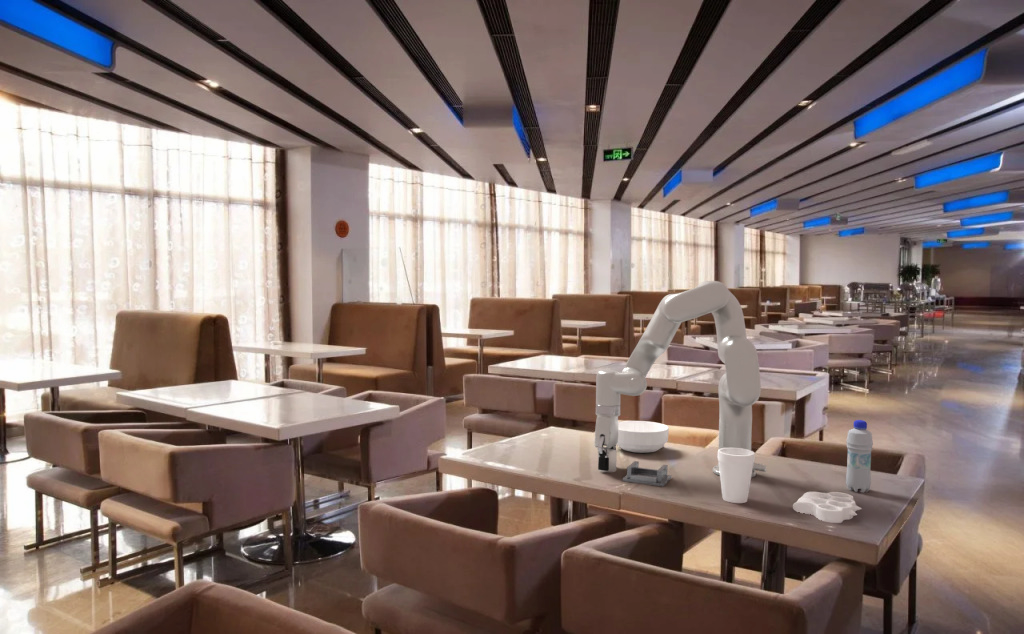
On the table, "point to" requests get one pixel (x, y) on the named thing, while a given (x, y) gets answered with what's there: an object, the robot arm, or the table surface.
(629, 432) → the bowl
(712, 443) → the table surface
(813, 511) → the white compartment tray
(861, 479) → the bottle
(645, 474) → the roll cradle
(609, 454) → the paper roll
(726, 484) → the foam cup
